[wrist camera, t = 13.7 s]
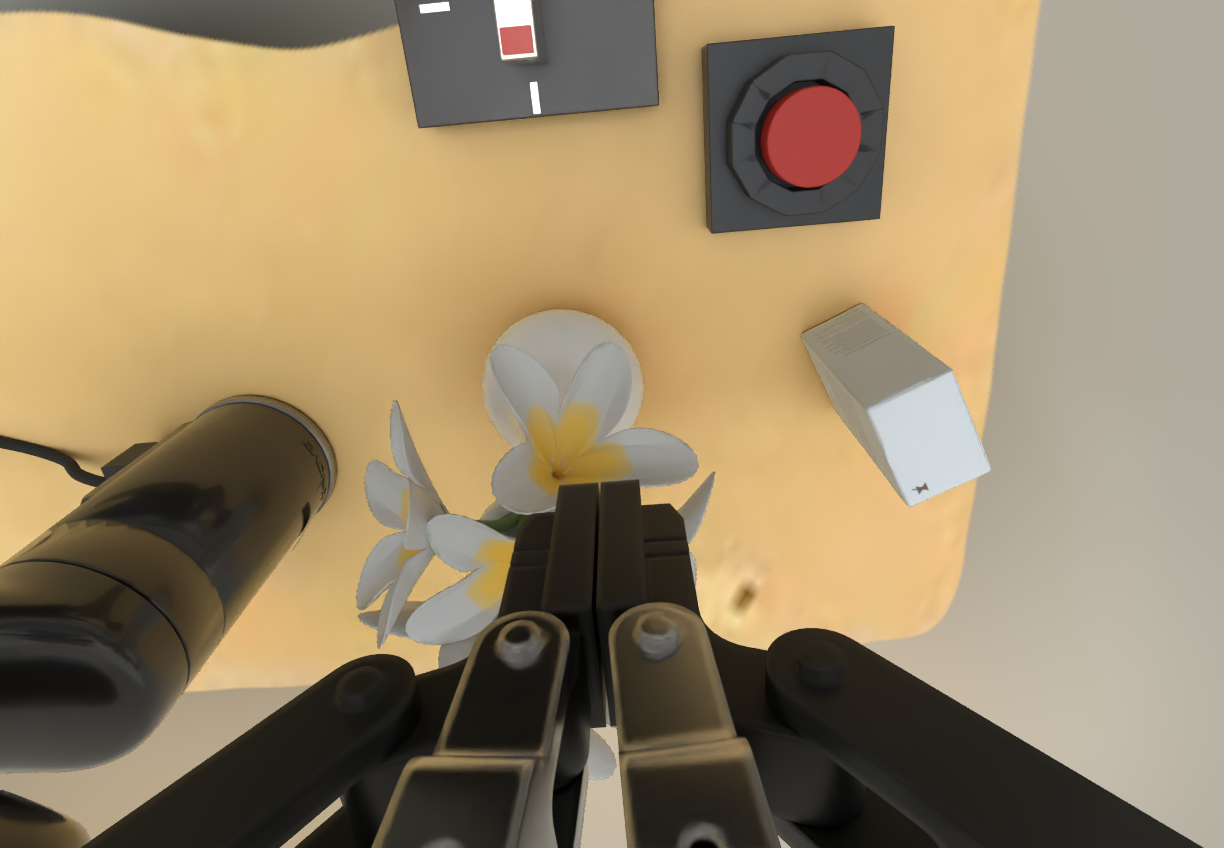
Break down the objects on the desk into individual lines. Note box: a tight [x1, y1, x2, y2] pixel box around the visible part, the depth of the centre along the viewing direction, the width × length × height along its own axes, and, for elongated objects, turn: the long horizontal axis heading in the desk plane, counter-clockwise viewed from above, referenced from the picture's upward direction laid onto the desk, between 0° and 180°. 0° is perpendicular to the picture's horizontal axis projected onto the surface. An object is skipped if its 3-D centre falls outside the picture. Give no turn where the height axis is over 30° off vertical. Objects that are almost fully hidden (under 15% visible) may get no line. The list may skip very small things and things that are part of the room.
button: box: [760, 86, 861, 188], centre depth 33 cm, size 4×4×2 cm
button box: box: [702, 26, 895, 233], centre depth 35 cm, size 9×9×4 cm
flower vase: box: [356, 309, 715, 780], centre depth 31 cm, size 13×18×25 cm
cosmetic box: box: [801, 304, 991, 507], centre depth 36 cm, size 6×4×12 cm
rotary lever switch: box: [394, 0, 659, 128], centre depth 33 cm, size 12×10×3 cm
